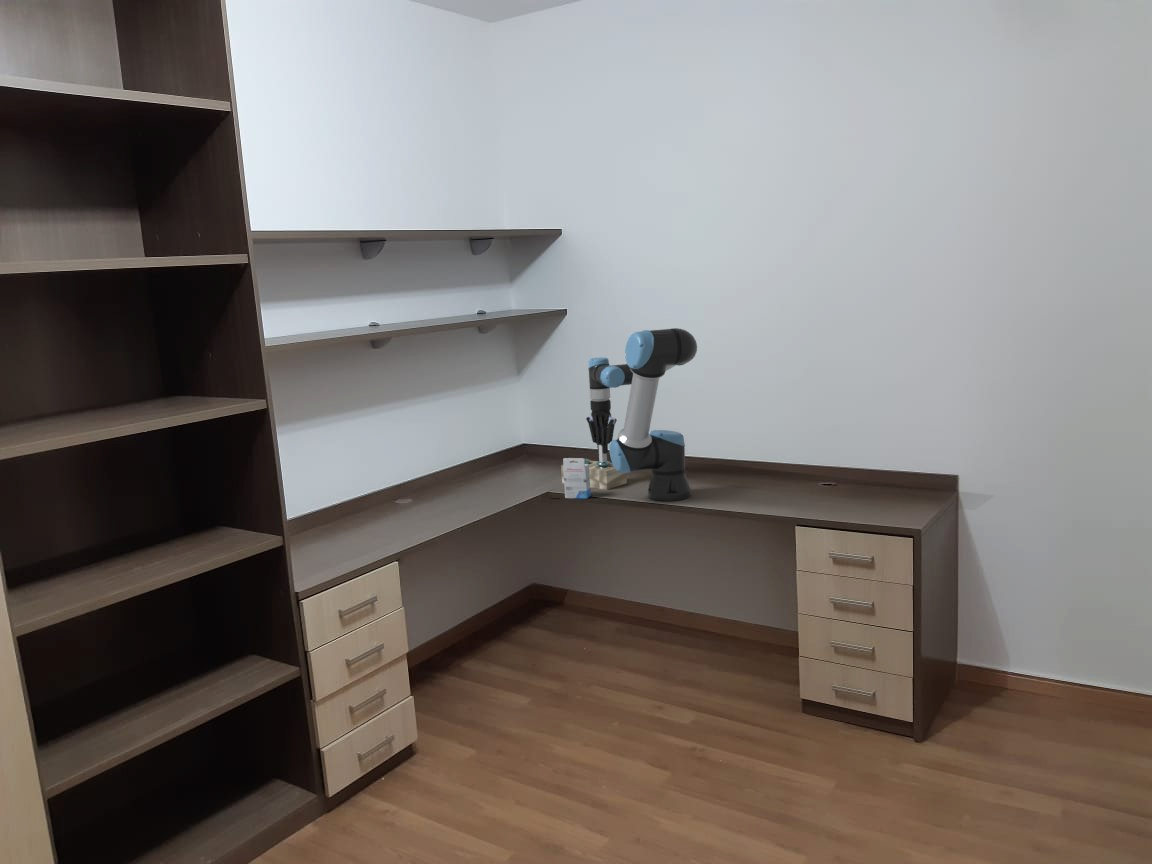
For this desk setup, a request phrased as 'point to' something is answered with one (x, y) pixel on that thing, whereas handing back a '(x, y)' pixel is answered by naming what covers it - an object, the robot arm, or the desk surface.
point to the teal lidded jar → (586, 461)
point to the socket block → (603, 476)
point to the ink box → (576, 478)
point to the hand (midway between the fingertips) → (603, 461)
